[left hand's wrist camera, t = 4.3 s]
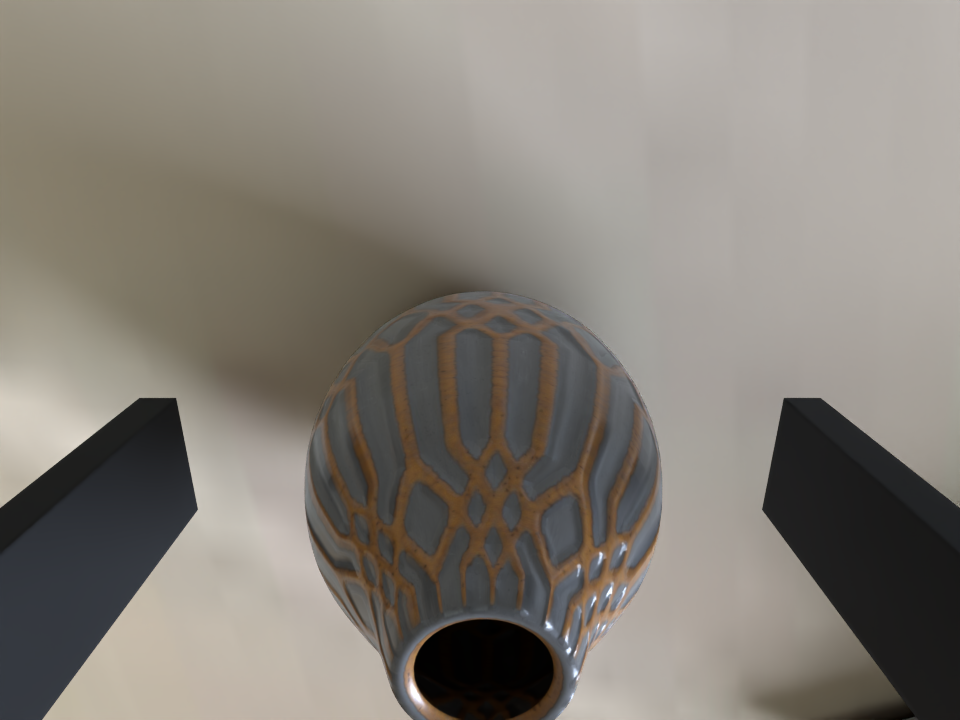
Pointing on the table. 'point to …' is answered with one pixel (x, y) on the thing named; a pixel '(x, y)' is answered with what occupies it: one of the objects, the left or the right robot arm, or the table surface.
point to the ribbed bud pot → (483, 502)
